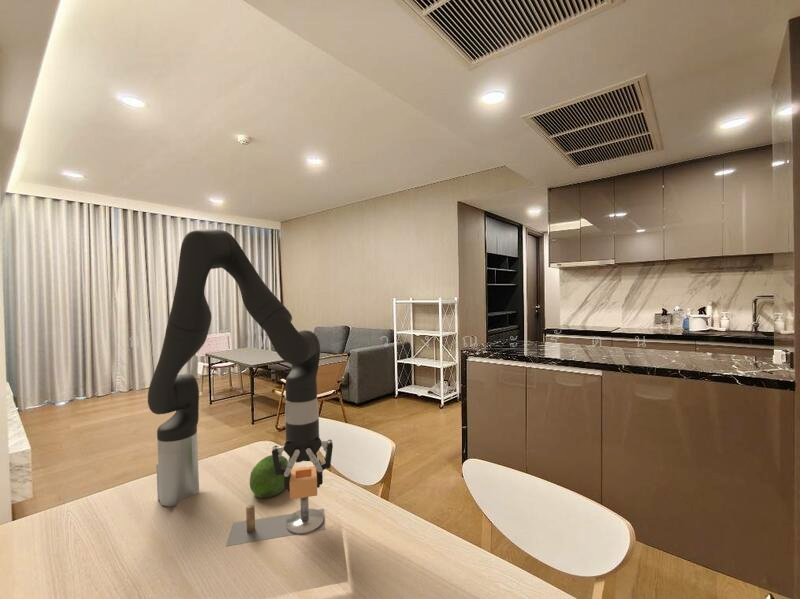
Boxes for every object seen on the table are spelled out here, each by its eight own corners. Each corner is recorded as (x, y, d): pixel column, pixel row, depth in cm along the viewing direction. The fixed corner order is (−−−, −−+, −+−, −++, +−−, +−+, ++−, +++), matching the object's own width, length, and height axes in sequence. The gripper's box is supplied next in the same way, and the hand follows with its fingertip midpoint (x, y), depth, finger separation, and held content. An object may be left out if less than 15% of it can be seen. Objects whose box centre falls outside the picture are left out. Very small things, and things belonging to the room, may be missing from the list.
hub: (284, 537, 82) (284, 510, 82) (286, 513, 90) (286, 489, 90) (324, 530, 84) (323, 504, 84) (322, 508, 92) (322, 484, 92)
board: (225, 552, 79) (225, 546, 79) (233, 529, 87) (232, 522, 87) (325, 535, 84) (325, 529, 84) (323, 514, 92) (323, 508, 92)
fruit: (267, 476, 111) (266, 443, 111) (299, 477, 110) (298, 444, 110) (241, 506, 96) (240, 469, 95) (279, 508, 95) (278, 470, 95)
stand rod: (246, 533, 83) (245, 509, 83) (247, 528, 85) (246, 505, 85) (254, 532, 84) (253, 508, 83) (255, 527, 85) (255, 503, 85)
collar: (290, 499, 83) (289, 482, 83) (291, 485, 89) (290, 469, 89) (317, 495, 84) (316, 478, 84) (316, 481, 90) (316, 465, 90)
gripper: (267, 426, 81) (270, 501, 81) (334, 419, 84) (336, 492, 85) (271, 414, 88) (273, 484, 89) (332, 409, 91) (334, 475, 92)
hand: (304, 487), depth 87 cm, fingers closed on collar, 6 cm apart
